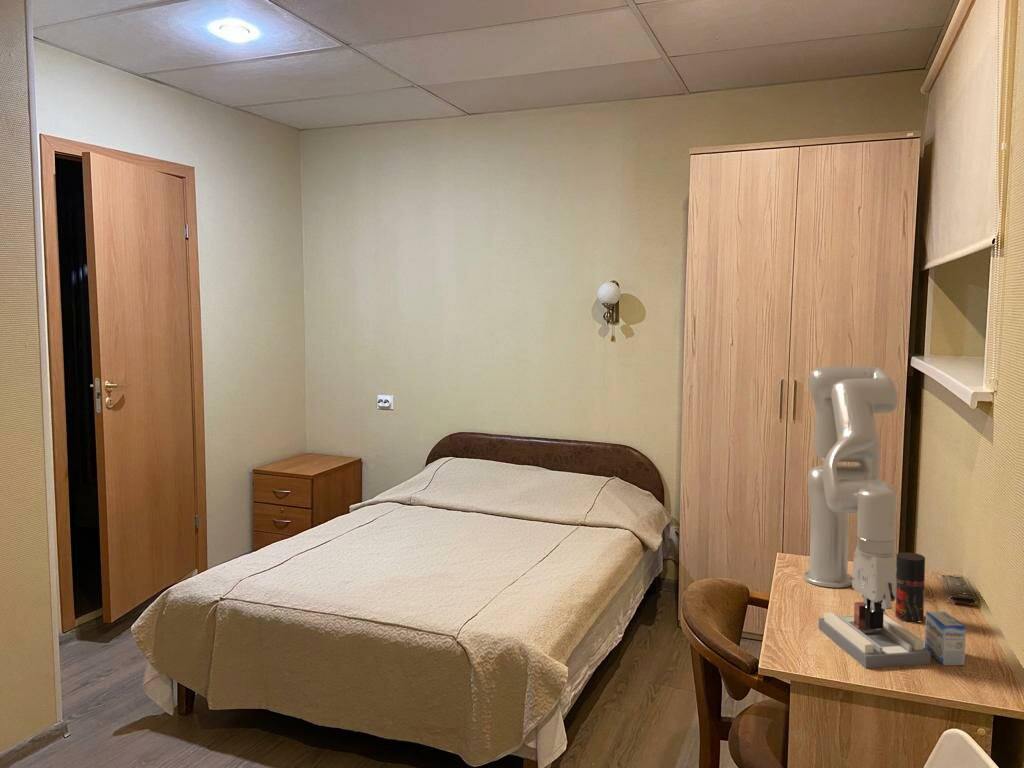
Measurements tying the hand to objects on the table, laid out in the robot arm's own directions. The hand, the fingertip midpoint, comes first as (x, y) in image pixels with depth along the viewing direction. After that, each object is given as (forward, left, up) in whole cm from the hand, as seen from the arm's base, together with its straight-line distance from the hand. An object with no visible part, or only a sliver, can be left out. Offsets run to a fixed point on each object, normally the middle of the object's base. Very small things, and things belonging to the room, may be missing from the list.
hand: (874, 627), depth 167 cm
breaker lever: (-4, 0, -2) cm, 4 cm away
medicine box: (+7, +12, -5) cm, 14 cm away
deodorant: (-14, +17, -5) cm, 22 cm away
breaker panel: (-1, 0, -4) cm, 5 cm away
